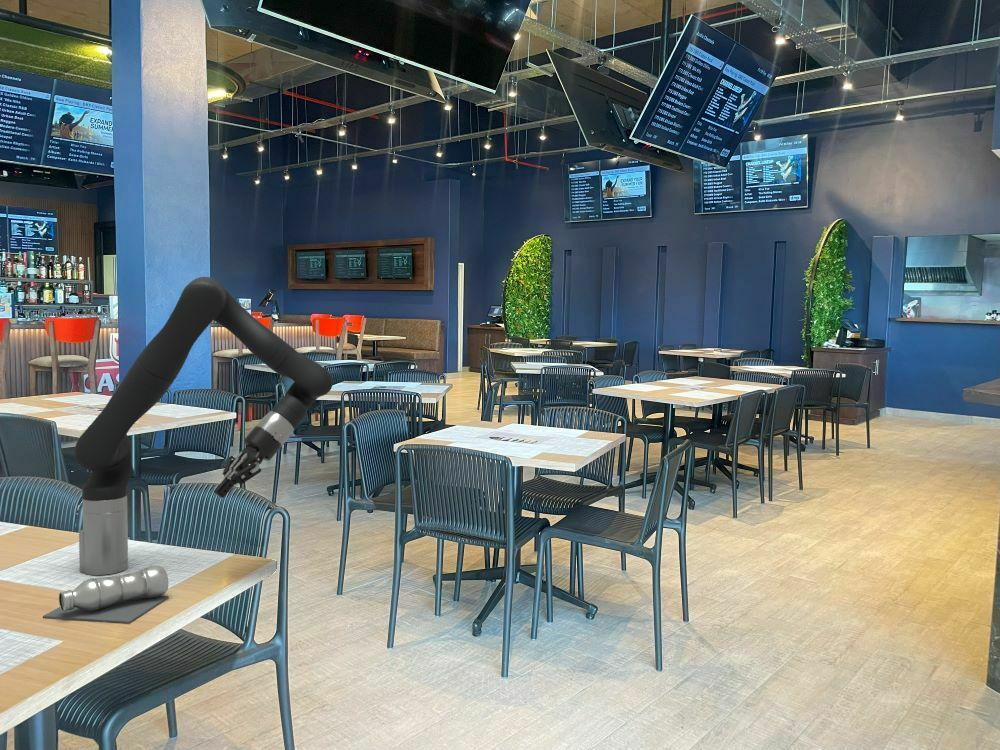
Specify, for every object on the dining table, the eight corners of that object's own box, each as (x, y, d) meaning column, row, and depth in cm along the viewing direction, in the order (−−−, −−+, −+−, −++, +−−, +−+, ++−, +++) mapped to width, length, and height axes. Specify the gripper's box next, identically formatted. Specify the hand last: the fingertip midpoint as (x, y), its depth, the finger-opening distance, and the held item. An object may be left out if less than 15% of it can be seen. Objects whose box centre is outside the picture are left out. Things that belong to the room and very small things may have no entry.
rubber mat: (42, 618, 151) (42, 616, 151) (88, 593, 164) (88, 591, 164) (129, 623, 149) (129, 621, 148) (168, 598, 162) (168, 596, 162)
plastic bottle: (167, 601, 164) (63, 626, 150) (158, 575, 167) (54, 597, 153) (174, 582, 160) (68, 606, 147) (164, 556, 164) (59, 577, 150)
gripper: (245, 422, 181) (194, 480, 174) (272, 428, 172) (218, 490, 164) (266, 442, 185) (217, 499, 178) (293, 449, 176) (242, 510, 168)
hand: (218, 495), depth 171 cm, fingers closed
